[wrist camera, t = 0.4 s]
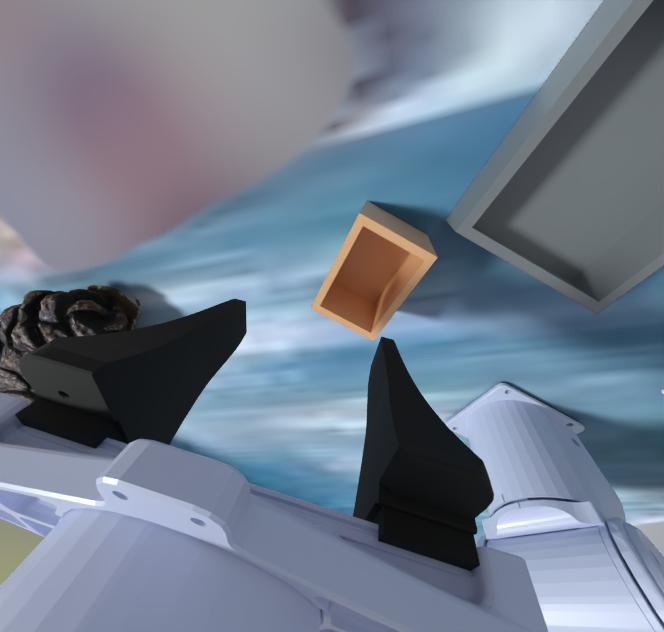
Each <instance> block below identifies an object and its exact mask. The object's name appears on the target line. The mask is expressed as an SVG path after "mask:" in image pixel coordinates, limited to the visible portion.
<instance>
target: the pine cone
mask: <svg viewBox="0 0 664 632" xmlns="http://www.w3.org/2000/svg"><path fill="white" fill-rule="evenodd" d="M96 289H98V290H96ZM134 298H135V297H134ZM135 299H136V298H135ZM136 302H137V305H138V306H140V303H139V301H138V300H137V299H136ZM139 315H140V310H139V308H138V307H137V306H136V305H134V304H133V303H132V302H130V301H129V300H128V299H127V298H126V296H125V295H123V294H122V293H121V292H120V291H118V290H115V289H112V288H110V287H105V286H89V287H87V288H85V289H77V290H72V291H70V292H69V293H68V292H63V291H56V292H53V291H48V290H35V291H32V292H31V291H30V292H29V293H28V294H26V295H25V296H24V301H23V303H22V304H19V305H14V306H11V307H9V308H7V309H5V310H4V311H3V312H2V314H1V315H0V320H1V321H0V392H1V393H4V394H8V395H11V396H14V397H17V398H20V399H22V400H25V401H26V402H28V403H29V404H31V403H33V402H34V401H36V400H37V399H39V397H38V395H37V394H36V393H35V391H34V390H33V388H32V387H31V386H30V384H29V383H28V381H27V380H26V378H25V377H24V376H23V374H22V372H21V370H20V367H19V362H20V358H21V357H22V356H24V355H26V354H28V353H30V352H32V351H33V350H35V349H37V348H39V347H41V346H43V345H45V344H47V343H48V342H50V341H52V340H54V339H56V338H60V337H75V336H89V335H99V334H108V333H115V332H122V331H128V330H133V329H134V327H135V325H136V321H137V320H138V317H139ZM132 324H135V325H134V326H133V325H132Z"/></svg>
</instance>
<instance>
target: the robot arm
mask: <svg viewBox="0 0 664 632" xmlns="http://www.w3.org/2000/svg"><path fill="white" fill-rule="evenodd" d="M245 334H246V301H242V300H238V299H232V300H229V301H226V302H224V303H221V304H218V305H216V306H213V307H210V308H208V309H205V310H203V311H200V312H197V313H194V314H191V315H188V316H185V317H182V318H179V319H176V320H173V321H169V322H166V323H162V324H158V325H154V326H149V327H144V328H139V329H134V330H128V331H122V332H115V333H108V334H99V335H89V336H75V337H60V338H56V339H54V340H52V341H50V342H48V343H47V344H45V345H43V346H41V347H39V348H37V349H35V350H33V351H32V352H30V353H28V354H26V355H24V356H22V357H21V358H20V362H19V367H20V370H21V372H22V374H23V376H24V377H25V378H26V380H27V381H28V383H29V384H30V386H31V387H32V388H33V390H34V391H35V393H36V394H37V395H38V397H39V399H37V400H36V401H34V402H33V403H31V404H29V403H28V402H26V401H25V400H22V399H20V398H17V397H14V396H11V395H8V394H4V393H1V392H0V518H1V519H4V520H6V521H8V522H11V523H13V524H15V525H18V526H20V527H22V528H25V529H27V530H29V531H32V532H34V533H36V534H39V535H41V536H44V537H45V538H44V540H42V542H41V543H40V544H39V545H38V546H37V547H36V548H35V549H34V550H33V551H32V552H31V554H30V555H29V556H28V557H27V558H26V559H25V560H24V561H23V562H22V563H21V564H20V565H19V567H18V568H17V569H16V570H15V571H14V572H13V573H12V574H11V575H10V576H9V577H8V578H7V579H6V581H5V582H4V583H3V584H2V585H1V586H0V632H664V557H663V556H662V554H661V553H660V552H659V551H658V549H657V548H656V547H655V546H654V545H653V543H652V542H651V541H650V540H649V539H648V538H647V537H646V536H645V534H643V532H642V531H641V530H639V529H638V528H636V527H634V526H632V525H631V524H629V523H626V522H625V513H624V510H623V506H622V504H621V502H620V500H619V498H618V496H617V495H616V493H615V492H614V490H613V489H612V487H611V486H610V484H609V483H608V481H607V480H606V478H605V477H604V475H603V474H602V472H601V471H600V469H599V468H598V466H597V465H596V463H595V462H594V460H593V459H592V457H591V456H590V454H589V453H588V451H587V450H586V448H585V447H584V445H583V444H582V442H581V441H580V439H579V438H578V436H577V434H579V433H581V432H583V431H584V430H585V428H584V426H583V425H582V424H581V423H579V422H577V421H575V420H573V419H571V418H570V417H568V416H566V415H564V414H562V413H560V412H558V411H557V410H555V409H553V408H551V407H549V406H547V405H545V404H543V403H542V402H540V401H538V400H536V399H534V398H532V397H530V396H529V395H527V394H525V393H523V392H521V391H519V390H517V389H516V388H514V387H512V386H510V385H508V384H506V383H499V384H497V385H496V386H495V387H493V388H492V389H491V390H489V391H488V392H487V393H485V394H484V395H483V396H481V397H480V398H478V399H477V400H476V401H474V402H473V403H472V404H470V405H469V406H468V407H466V408H465V409H463V410H462V411H461V412H459V413H458V414H457V415H455V416H454V417H453V418H451V419H450V420H449V421H447V422H446V425H445V423H444V422H443V421H442V420H441V419H440V418H439V417H438V415H437V414H436V413H435V412H434V410H433V409H432V408H431V407H430V405H429V404H428V403H427V401H426V400H425V399H424V397H423V396H422V394H421V393H420V391H419V390H418V388H417V387H416V385H415V383H414V382H413V380H412V378H411V376H410V375H409V373H408V371H407V369H406V367H405V365H404V363H403V360H402V358H401V356H400V354H399V351H398V349H397V346H396V344H395V342H394V340H392V339H388V338H384V337H381V339H380V342H379V345H378V348H377V351H376V354H375V356H374V359H373V362H372V365H371V370H370V376H369V382H368V402H367V426H366V436H365V443H364V450H363V457H362V464H361V471H360V477H359V483H358V490H357V496H356V502H355V508H354V513H353V516H350V515H347V514H344V513H341V512H337V511H334V510H331V509H328V508H325V507H322V506H319V505H316V504H312V503H309V502H306V501H303V500H300V499H297V498H294V497H291V496H288V495H284V494H281V493H278V492H275V491H272V490H269V489H266V488H263V487H260V486H256V485H253V484H250V483H248V482H247V480H246V478H245V476H244V475H242V474H241V473H240V472H239V471H238V470H236V469H235V468H234V467H231V466H229V465H227V464H225V463H223V462H220V461H217V460H214V459H211V458H208V457H205V456H202V455H198V454H195V453H192V452H189V451H186V450H183V449H179V448H176V447H173V446H170V445H169V444H170V443H171V441H172V439H173V437H174V436H175V434H176V432H177V431H178V429H179V427H180V425H181V424H182V422H183V420H184V419H185V417H186V415H187V414H188V412H189V411H190V409H191V408H192V406H193V404H194V403H195V401H196V400H197V398H198V397H199V395H200V394H201V392H202V391H203V389H204V388H205V386H206V385H207V384H208V382H209V381H210V380H211V379H212V377H213V376H214V375H215V374H216V373H217V371H218V370H219V369H220V368H221V367H222V365H223V364H224V363H225V362H226V361H227V360H228V358H229V357H230V356H231V355H232V353H233V352H234V351H235V350H236V349H237V347H238V346H239V344H240V343H241V341H242V339H243V338H244V336H245ZM506 390H508V391H506ZM451 430H452V431H454V432H456V433H458V434H460V435H462V436H464V437H466V438H468V439H469V442H470V445H471V449H472V450H471V449H470V448H468V447H467V446H466V445H465V444H464V443H463V442H462V441H461V440H460V439H459V438H458V437H457V436H456V435H455V434H454V433H453V432H452V431H451ZM486 508H488V511H489V515H490V518H487V519H484V520H482V523H483V527H484V531H485V535H486V536H482V537H480V538H479V540H478V542H477V545H476V544H475V539H474V535H475V534H477V526H476V522H475V518H476V517H477V516H478V515H479V514H480V513H482V512H483V511H484V510H485V509H486ZM473 534H474V535H473Z"/></svg>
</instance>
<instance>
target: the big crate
mask: <svg viewBox="0 0 664 632" xmlns="http://www.w3.org/2000/svg"><path fill="white" fill-rule="evenodd" d="M445 220H446V221H447V223H448V224H449V225H450V226H451V227H452V228H453V229H454V231H455V232H457V233H458V234H460V235H462V236H464V237H465V238H467V239H469V240H470V241H472V242H474V243H476V244H477V245H479V246H481V247H482V248H484V249H486V250H488V251H489V252H491V253H493V254H495V255H496V256H498V257H500V258H501V259H503V260H505V261H507V262H508V263H510V264H512V265H513V266H515V267H517V268H519V269H520V270H522V271H524V272H526V273H527V274H529V275H531V276H532V277H534V278H536V279H538V280H539V281H541V282H543V283H544V284H546V285H548V286H550V287H551V288H553V289H555V290H557V291H558V292H560V293H562V294H563V295H565V296H567V297H569V298H570V299H572V300H574V301H575V302H577V303H579V304H581V305H582V306H584V307H586V308H588V309H589V310H591V311H593V312H594V313H596V314H597V313H599V312H600V311H602V310H603V309H604V308H606V307H607V306H608V305H610V304H611V303H613V302H614V301H615V300H617V299H618V298H619V297H621V296H622V295H623V294H625V293H626V292H628V291H629V290H630V289H632V288H633V287H634V286H636V285H637V284H639V283H640V282H641V281H643V280H644V279H645V278H647V277H648V276H650V275H651V274H652V273H654V272H655V271H656V270H658V269H659V268H660V267H662V266H663V265H664V0H604V1H603V2H602V4H601V5H600V6H599V8H598V9H597V11H596V12H595V13H594V15H593V16H592V17H591V19H590V20H589V22H588V23H587V24H586V26H585V27H584V29H583V30H582V31H581V33H580V34H579V35H578V37H577V38H576V40H575V41H574V42H573V44H572V45H571V47H570V48H569V49H568V51H567V52H566V53H565V55H564V56H563V58H562V59H561V60H560V62H559V63H558V65H557V66H556V67H555V69H554V70H553V71H552V73H551V74H550V76H549V77H548V78H547V80H546V81H545V83H544V84H543V85H542V87H541V88H540V89H539V91H538V92H537V94H536V95H535V96H534V98H533V99H532V101H531V102H530V103H529V105H528V106H527V107H526V109H525V110H524V112H523V113H522V114H521V116H520V117H519V118H518V120H517V121H516V123H515V124H514V125H513V127H512V128H511V130H510V131H509V132H508V134H507V135H506V136H505V138H504V139H503V141H502V142H501V143H500V145H499V146H498V148H497V149H496V150H495V152H494V153H493V154H492V156H491V157H490V159H489V160H488V161H487V163H486V164H485V166H484V167H483V168H482V170H481V171H480V172H479V174H478V175H477V177H476V178H475V179H474V181H473V182H472V184H471V185H470V186H469V188H468V189H467V190H466V192H465V193H464V195H463V196H462V197H461V199H460V200H459V202H458V203H457V204H456V206H455V207H454V208H453V210H452V211H451V213H450V214H449V215H448V217H447V218H446V219H445Z"/></svg>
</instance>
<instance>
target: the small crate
mask: <svg viewBox="0 0 664 632" xmlns="http://www.w3.org/2000/svg"><path fill="white" fill-rule="evenodd" d="M437 258H438V257H437V255H436V252H435V250H434V248H433V246H432V244H431V242H430V239H429V237H428V235H427V234H425V233H423V232H421V231H420V230H418V229H416V228H414V227H413V226H411V225H409V224H407V223H406V222H404V221H402V220H400V219H399V218H397V217H395V216H393V215H392V214H390V213H388V212H386V211H385V210H383V209H381V208H379V207H378V206H376V205H374V204H372V203H371V202H369V201H367V202H366V203H365V205H364V207H363V208H362V210H361V212H360V213H359V215H358V217H357V219H356V221H355V223H354V225H353V227H352V229H351V231H350V233H349V235H348V236H347V238H346V240H345V242H344V244H343V246H342V248H341V250H340V252H339V254H338V256H337V258H336V260H335V262H334V264H333V265H332V267H331V269H330V271H329V273H328V275H327V277H326V279H325V281H324V283H323V285H322V287H321V289H320V291H319V293H318V294H317V296H316V298H315V300H314V302H313V304H312V306H311V308H312V309H313V310H315V311H317V312H319V313H321V314H323V315H325V316H327V317H329V318H331V319H332V320H334V321H336V322H338V323H340V324H342V325H344V326H346V327H348V328H350V329H351V330H353V331H355V332H357V333H359V334H361V335H363V336H365V337H367V338H369V339H370V340H372V341H374V339H375V338H376V337H377V335H378V334H379V333H380V332H381V330H382V329H383V328H384V326H385V325H386V324H387V322H388V321H389V320H390V319H391V317H392V316H393V315H394V313H395V312H396V311H397V310H398V308H399V307H400V306H401V304H402V303H403V302H404V300H405V299H406V298H407V297H408V295H409V294H410V293H411V291H412V290H413V289H414V288H415V286H416V285H417V284H418V282H419V281H420V280H421V278H422V277H423V276H424V275H425V273H426V272H427V271H428V269H429V268H430V267H431V265H432V264H433V263H434V262H435V260H436V259H437Z"/></svg>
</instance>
